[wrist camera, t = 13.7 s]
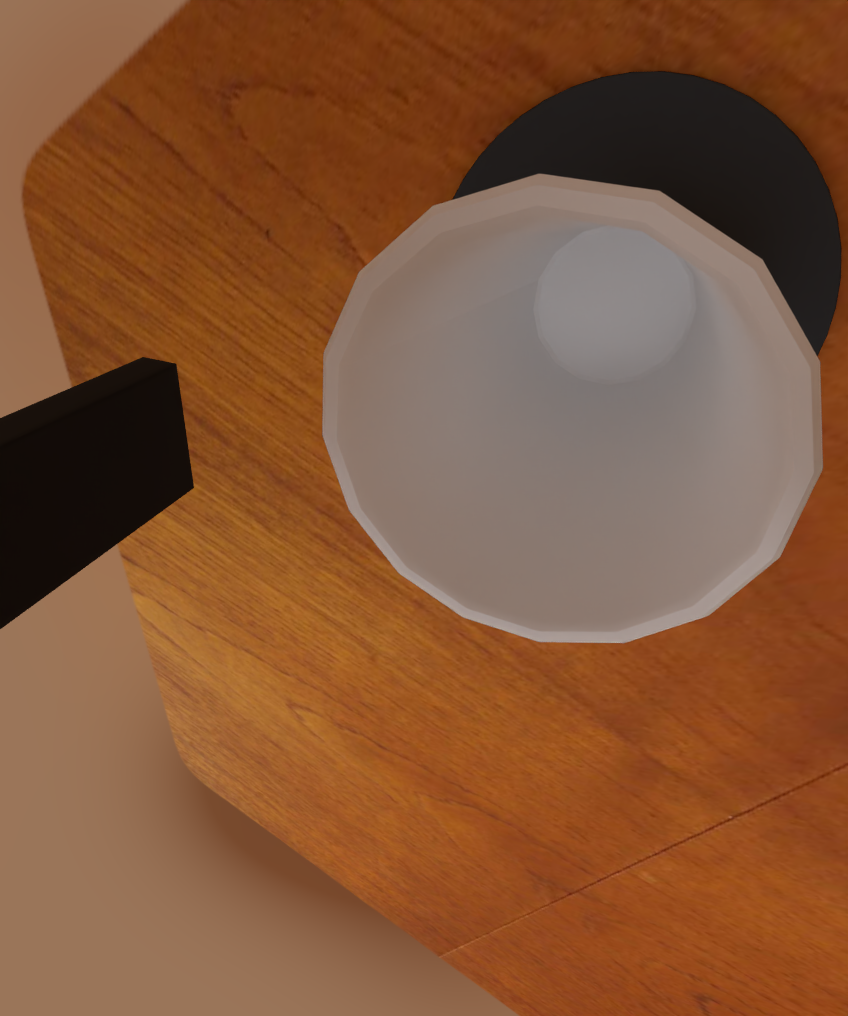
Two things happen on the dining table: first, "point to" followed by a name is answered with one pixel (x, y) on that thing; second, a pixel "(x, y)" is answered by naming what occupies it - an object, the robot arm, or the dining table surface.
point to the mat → (689, 170)
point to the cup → (572, 410)
